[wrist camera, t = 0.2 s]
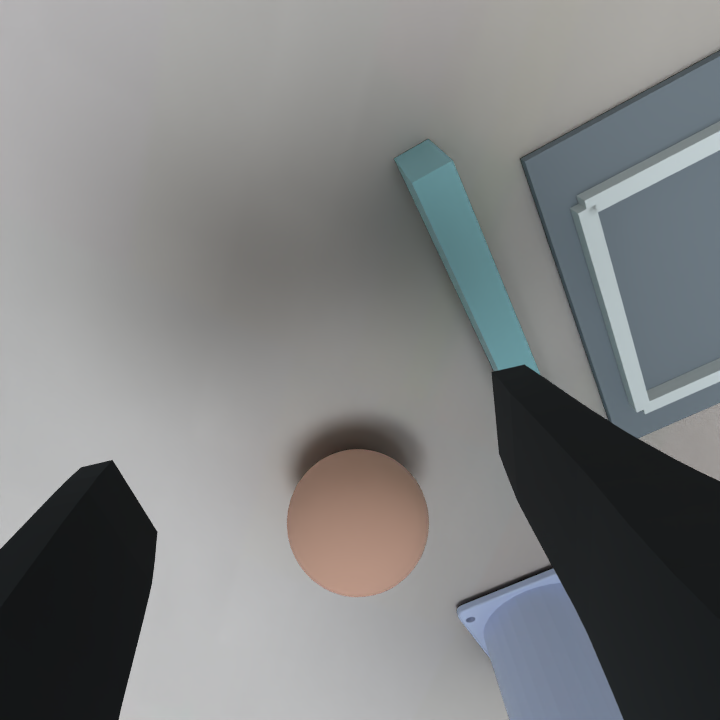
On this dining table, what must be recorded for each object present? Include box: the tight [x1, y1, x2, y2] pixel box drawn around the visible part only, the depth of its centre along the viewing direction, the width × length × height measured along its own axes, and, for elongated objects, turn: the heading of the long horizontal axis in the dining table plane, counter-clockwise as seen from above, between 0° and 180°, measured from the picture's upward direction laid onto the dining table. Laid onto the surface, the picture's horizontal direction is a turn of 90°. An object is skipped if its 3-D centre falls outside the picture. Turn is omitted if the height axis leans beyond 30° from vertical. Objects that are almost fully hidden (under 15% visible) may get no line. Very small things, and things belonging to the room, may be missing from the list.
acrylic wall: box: [394, 139, 540, 375], centre depth 21 cm, size 20×1×3 cm, turn 28°
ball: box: [287, 449, 429, 597], centre depth 22 cm, size 6×6×6 cm
